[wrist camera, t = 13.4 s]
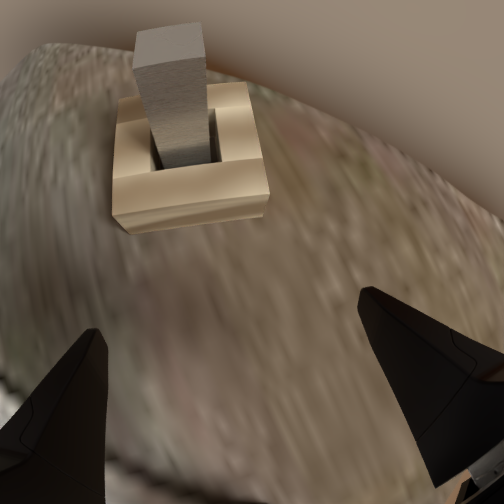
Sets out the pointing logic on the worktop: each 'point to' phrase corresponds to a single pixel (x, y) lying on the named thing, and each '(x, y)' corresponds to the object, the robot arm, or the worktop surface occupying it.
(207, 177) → the socket block
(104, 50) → the worktop surface
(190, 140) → the square bit
